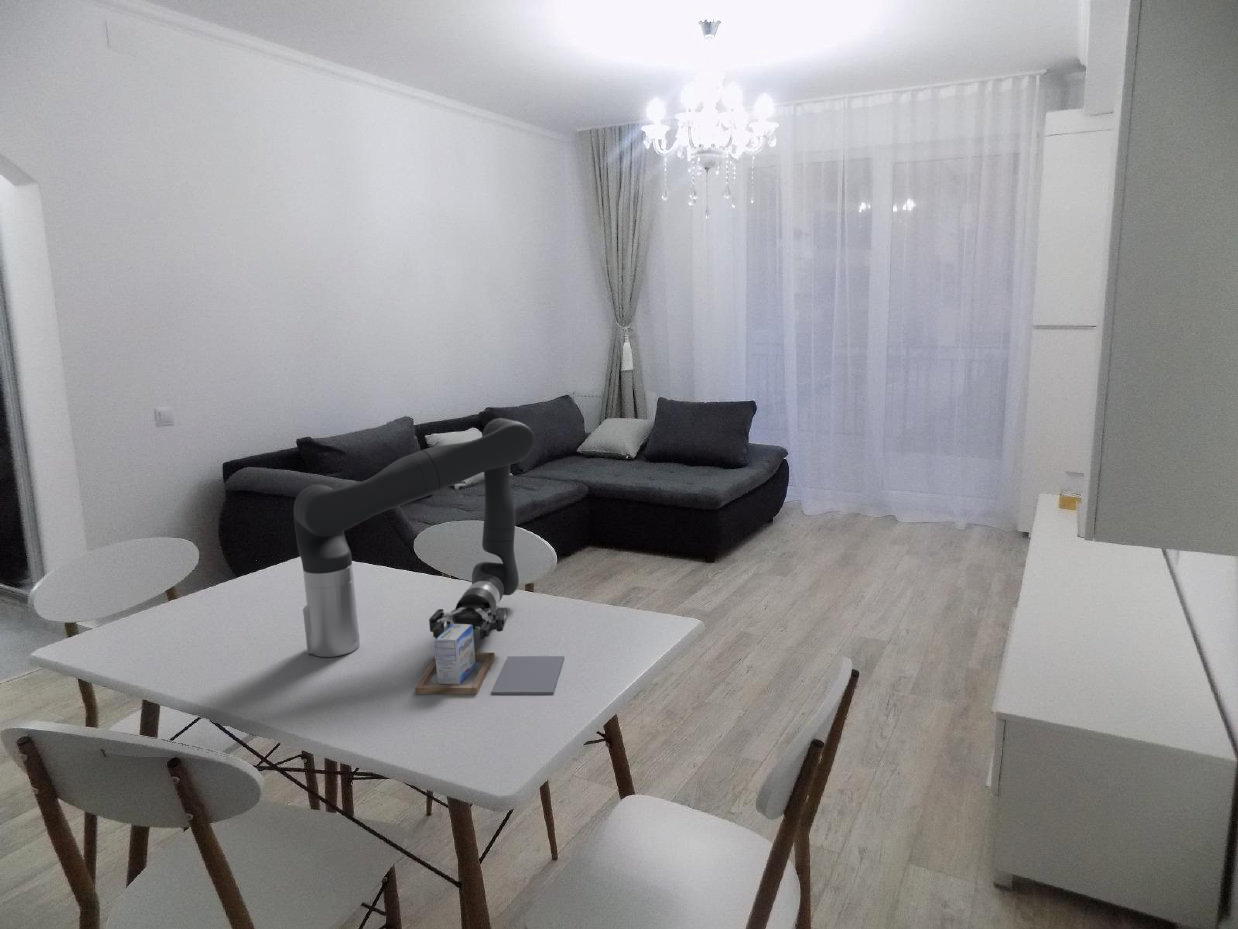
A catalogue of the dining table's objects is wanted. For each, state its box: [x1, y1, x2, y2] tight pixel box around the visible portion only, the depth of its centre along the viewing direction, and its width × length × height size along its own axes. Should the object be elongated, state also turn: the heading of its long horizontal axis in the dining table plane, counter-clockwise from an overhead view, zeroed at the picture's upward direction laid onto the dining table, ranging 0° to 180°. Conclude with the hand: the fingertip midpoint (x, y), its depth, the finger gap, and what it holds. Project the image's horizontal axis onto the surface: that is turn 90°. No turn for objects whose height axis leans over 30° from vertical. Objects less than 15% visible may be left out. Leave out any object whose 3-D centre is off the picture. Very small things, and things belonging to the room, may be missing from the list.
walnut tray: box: [414, 652, 496, 695], centre depth 152 cm, size 11×15×1 cm
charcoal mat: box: [490, 655, 565, 695], centre depth 152 cm, size 11×15×1 cm
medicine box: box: [433, 623, 476, 685], centre depth 152 cm, size 8×4×9 cm, turn 168°
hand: (459, 635), depth 155 cm, fingers open, 8 cm apart
